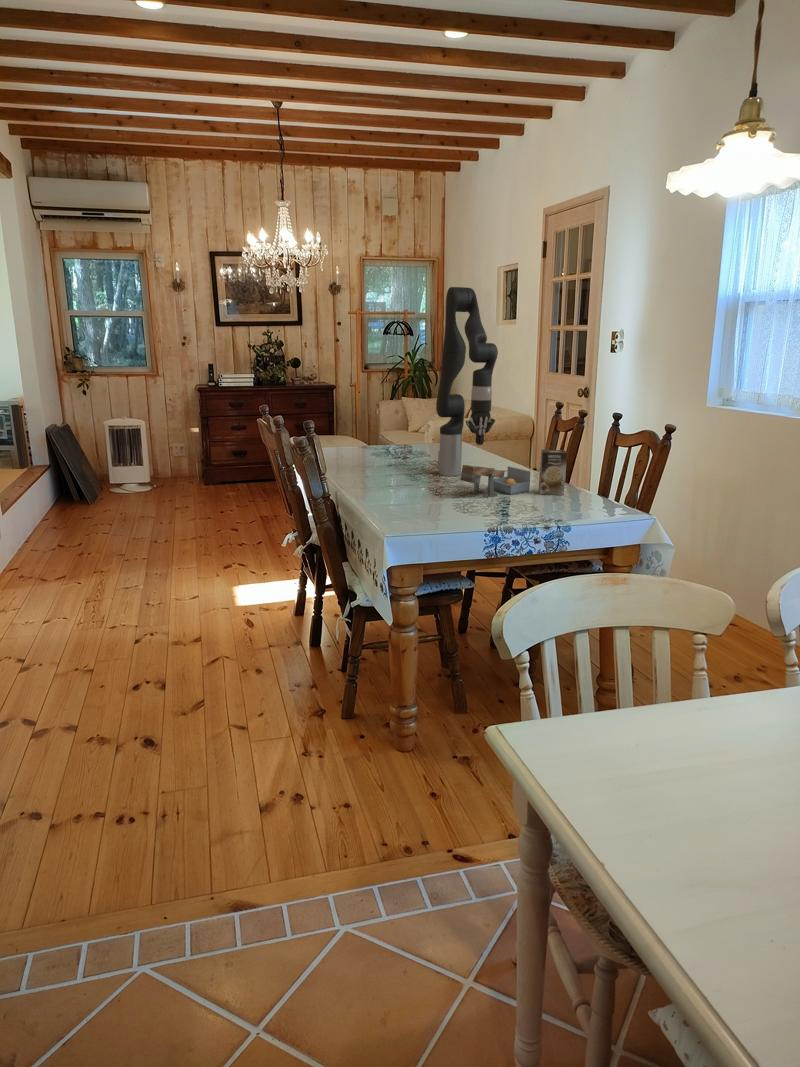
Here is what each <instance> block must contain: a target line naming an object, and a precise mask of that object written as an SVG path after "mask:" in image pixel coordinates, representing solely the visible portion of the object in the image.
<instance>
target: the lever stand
mask: <svg viewBox="0 0 800 1067" xmlns="http://www.w3.org/2000/svg"><path fill="white" fill-rule="evenodd" d="M494 476H495V475H494V474H493V473H489V474H488V476H487V477H488V480H487V481H488V482H487V493H486V494H483V498H485V497H487V498H486V499H489V498H488V497H490V498H496V497H498V493H494V490H493V487H494V478H495V477H494ZM479 492H482V493H484V489H481V488H480V484H477V483H473V490H469V494H472V493H475V494H480V493H479ZM495 496H496V497H495Z"/></svg>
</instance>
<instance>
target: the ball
mask: <svg viewBox="0 0 800 1067" xmlns="http://www.w3.org/2000/svg"><path fill="white" fill-rule="evenodd" d="M515 483H516V481H515V480H514V479H508V480H507V481H506V483H505V484H508V485H512V484H515Z"/></svg>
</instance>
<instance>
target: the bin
mask: <svg viewBox="0 0 800 1067" xmlns="http://www.w3.org/2000/svg"><path fill="white" fill-rule="evenodd" d="M506 474H507V475H506V476H504V478H499V477H494V487H493V491H495V490H496V492H498V491H500V492H499V493H502V492H503V494H505V493H506V494H507V495H509V494H510V496H513V494H514V495H520V494H519V493H521V494H525V493H524V492H527V493H530V487H531V484H530V483H531V470H526V469H522V468H518V467H513V466H509V465H508V466H507V470H506ZM508 479H514V480H515V481H516V483H515V484H512V485H508V484H505V483H506V481H507V480H508Z"/></svg>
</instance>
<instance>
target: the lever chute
mask: <svg viewBox="0 0 800 1067" xmlns="http://www.w3.org/2000/svg"><path fill="white" fill-rule="evenodd" d="M505 472H506V471H505V470H501V469H500V470H499V469H495V468H494V467H493V468H492V467H485V466H475V465H467V464H462V466H461V475H460V481H464V482H467V483H470V484H474V483H477V484H479V485H480V483H481V478H482V476H483V477H488V474H489V473H493V474H494V475H495V476H494V478H504V477H505Z"/></svg>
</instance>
